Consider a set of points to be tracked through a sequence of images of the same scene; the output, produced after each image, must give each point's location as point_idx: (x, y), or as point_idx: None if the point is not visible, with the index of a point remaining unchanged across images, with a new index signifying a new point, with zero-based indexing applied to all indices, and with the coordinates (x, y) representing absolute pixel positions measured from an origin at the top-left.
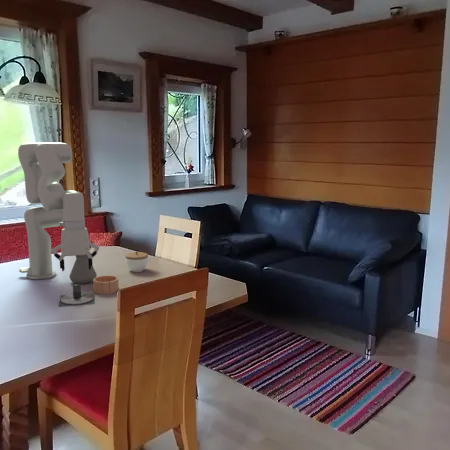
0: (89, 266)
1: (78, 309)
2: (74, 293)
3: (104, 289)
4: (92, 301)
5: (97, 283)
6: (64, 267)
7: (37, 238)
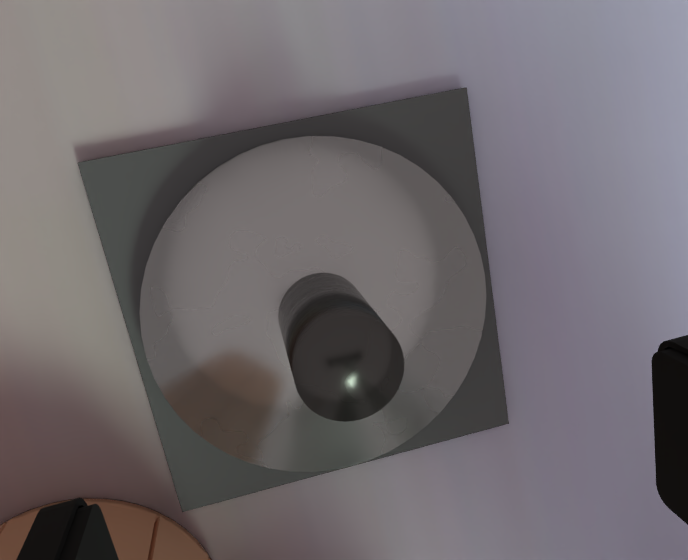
0: (51, 544)
1: (234, 19)
2: (352, 291)
3: None
4: (131, 247)
5: None
6: (681, 508)
7: None
